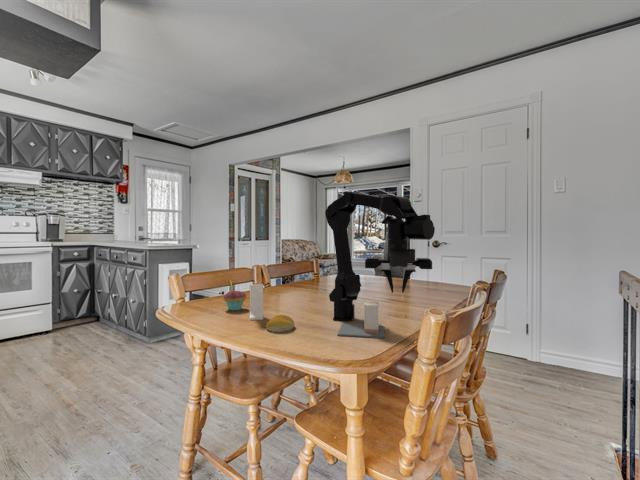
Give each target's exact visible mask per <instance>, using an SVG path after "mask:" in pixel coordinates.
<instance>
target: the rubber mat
mask: <svg viewBox="0 0 640 480" xmlns="http://www.w3.org/2000/svg"><path fill="white" fill-rule="evenodd" d="M384 334H385V332H384V325H378V333H367V332H364V324H357V323H353V324H352V323H341V325H340V327H339V330H338V332H337V336H339V337H354V338H368V339H369V338H370V339H371V338H372V339H373V338H374V339H384V337H385V335H384Z"/></svg>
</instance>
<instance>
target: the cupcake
mask: <svg viewBox="0 0 640 480" xmlns="http://www.w3.org/2000/svg"><path fill="white" fill-rule="evenodd" d="M229 284H230V290H229V291H228V292H227V293H225V294H224V296H223V300H224V302H225V304H226V306H227V307H228V308H227V309H228V310H229V311H240V310H242V308H243V304H244V302H245V301H246V300H247V295H246V293H245V292H243V291H240V290H234V287H233V281H232V279H231V278H229Z"/></svg>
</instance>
